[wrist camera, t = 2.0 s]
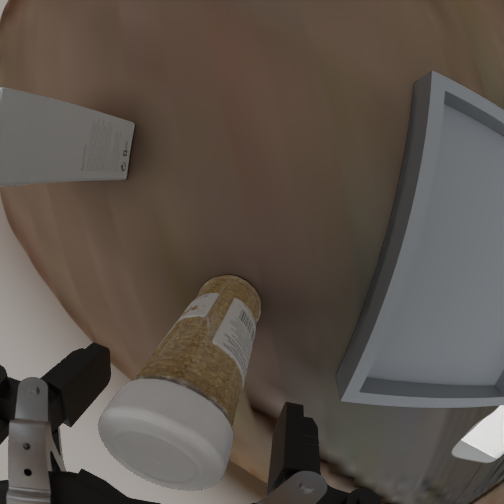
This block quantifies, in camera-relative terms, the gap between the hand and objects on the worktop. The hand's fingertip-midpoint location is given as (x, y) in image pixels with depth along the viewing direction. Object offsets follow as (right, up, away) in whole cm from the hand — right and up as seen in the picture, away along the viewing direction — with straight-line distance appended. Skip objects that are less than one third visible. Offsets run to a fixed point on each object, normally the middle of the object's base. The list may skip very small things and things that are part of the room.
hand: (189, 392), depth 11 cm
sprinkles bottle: (+1, +2, +9) cm, 10 cm away
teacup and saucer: (+41, -14, +9) cm, 44 cm away
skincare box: (-9, +14, +8) cm, 18 cm away
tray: (+20, +5, +6) cm, 22 cm away
